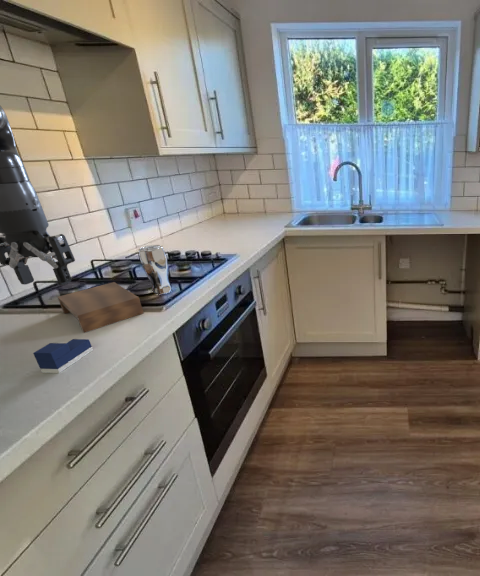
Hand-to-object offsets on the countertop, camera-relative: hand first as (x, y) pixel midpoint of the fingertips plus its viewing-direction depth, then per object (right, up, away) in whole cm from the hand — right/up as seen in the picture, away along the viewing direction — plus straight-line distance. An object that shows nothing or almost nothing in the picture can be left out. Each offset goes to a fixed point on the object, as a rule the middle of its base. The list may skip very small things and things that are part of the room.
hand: (46, 283), depth 76 cm
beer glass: (0, -3, +41) cm, 41 cm away
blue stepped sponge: (0, -17, +5) cm, 18 cm away
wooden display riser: (-9, -8, +27) cm, 30 cm away
